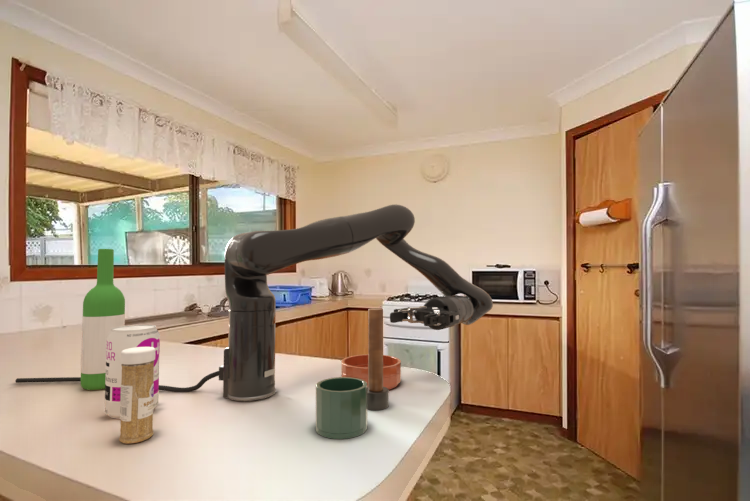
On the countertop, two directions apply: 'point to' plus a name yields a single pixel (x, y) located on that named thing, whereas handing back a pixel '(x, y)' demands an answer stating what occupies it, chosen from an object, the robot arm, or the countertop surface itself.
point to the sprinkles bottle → (137, 394)
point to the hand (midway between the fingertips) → (407, 319)
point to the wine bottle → (100, 322)
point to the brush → (376, 362)
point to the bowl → (359, 369)
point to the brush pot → (341, 407)
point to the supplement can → (115, 345)
